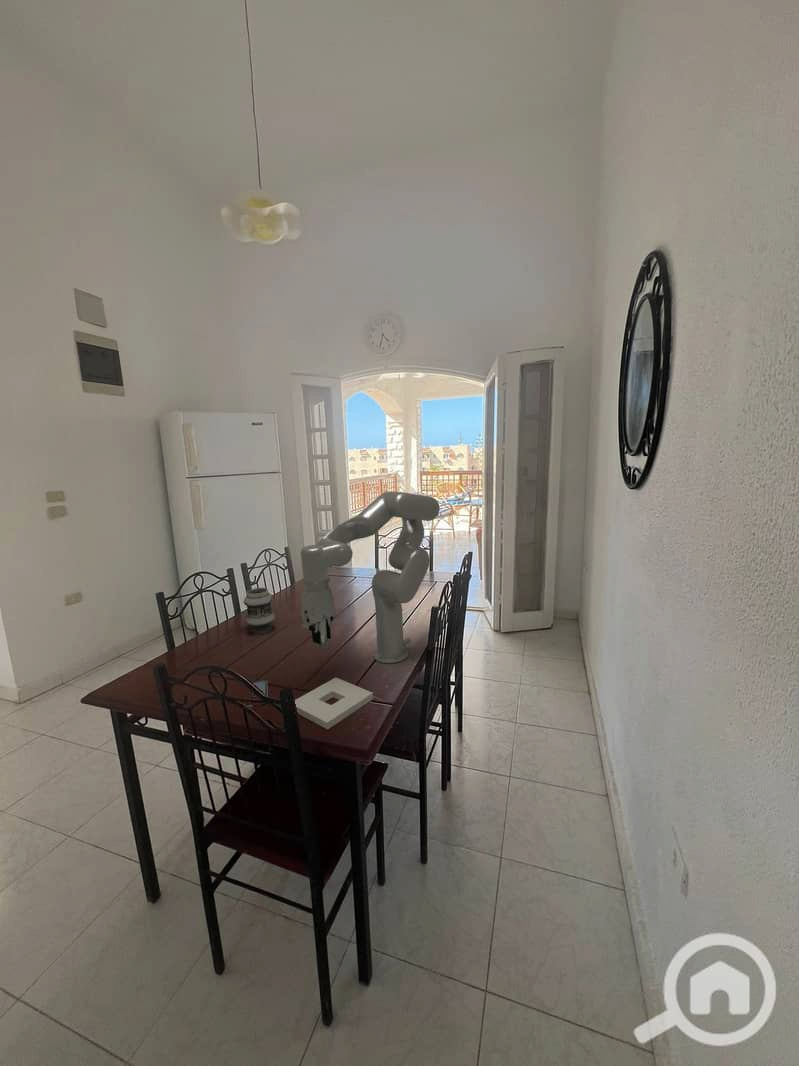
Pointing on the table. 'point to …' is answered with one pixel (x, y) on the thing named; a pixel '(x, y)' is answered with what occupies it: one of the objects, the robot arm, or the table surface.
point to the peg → (323, 633)
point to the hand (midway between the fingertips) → (321, 639)
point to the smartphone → (261, 687)
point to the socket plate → (328, 714)
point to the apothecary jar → (259, 610)
